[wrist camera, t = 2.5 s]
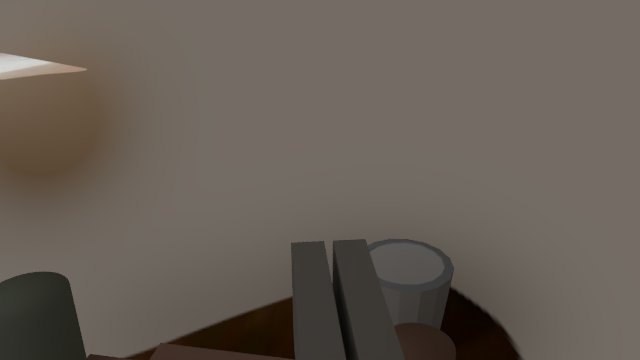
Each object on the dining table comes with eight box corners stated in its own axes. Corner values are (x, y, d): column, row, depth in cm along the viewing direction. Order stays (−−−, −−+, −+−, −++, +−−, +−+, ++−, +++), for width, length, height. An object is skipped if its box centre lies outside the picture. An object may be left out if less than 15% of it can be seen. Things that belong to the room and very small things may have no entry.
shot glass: (344, 317, 43) (345, 241, 41) (425, 307, 45) (432, 233, 42) (366, 379, 37) (369, 295, 34) (459, 366, 38) (470, 284, 36)
